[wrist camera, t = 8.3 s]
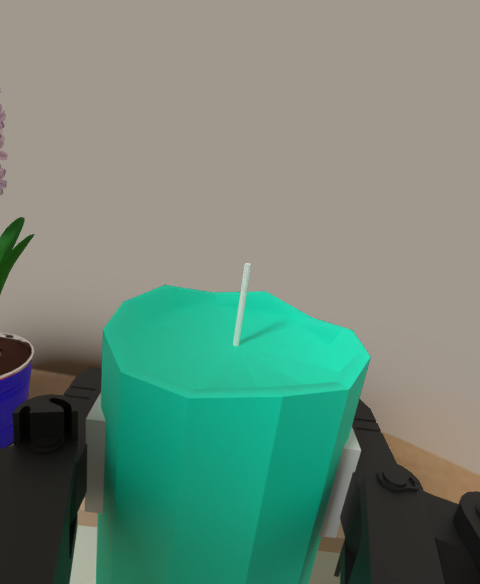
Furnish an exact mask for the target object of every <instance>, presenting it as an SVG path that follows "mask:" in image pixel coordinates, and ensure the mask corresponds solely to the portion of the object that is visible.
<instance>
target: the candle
mask: <svg viewBox="0 0 480 584" xmlns="http://www.w3.org/2000/svg"><path fill="white" fill-rule="evenodd" d="M250 268H251V264H250V263H245V266H244V272H243V280H242V286H241V292H217V293H213V292H206V291H200V290H194V289H187V288H181V287H175V286H169V285H164V286H161V287H159V288H156V289H154V290H151V291H149V292H146V293H144V294H142V295H139V296H137V297H134V298H132V299H129V300H127V301H124V302H123V303H122V304H121V306H120V307H119V308H118V310H117V311H116V313H115V314H114V316H113V317H112V318H111V319H110V321H109V322H108V323H107V325H106V326H105V327H104V329H103V343H102V379H101V409H102V412H103V415H104V418H105V420H106V430H105V459H104V488H103V514H102V513H98V522H97V558H96V584H309V581H310V577H311V573H312V570H313V566H314V562H315V559H316V555H317V551H318V548H319V544H320V540H321V537H322V536H319V534H320V531H321V527H322V523H323V520H324V516H325V512H326V509H327V505H328V501H329V497H330V494H331V490H332V486H333V483H334V479H335V475H336V472H337V468H338V464H339V460H340V457H341V453H342V449H343V447H344V445H345V443H346V442H347V440H348V438H349V435H350V431H351V427H352V424H353V420H354V416H355V413H356V409H357V405H358V402H359V398H360V394H361V390H362V387H363V383H364V380H365V376H366V372H367V369H368V365H369V361H370V358H371V357H370V355H369V354H368V352H367V351H366V350H365V348H364V346H363V345H362V343H361V342H360V341H359V339H358V337H357V336H356V334H355V333H354V331H353V330H351V329H347V328H344V327H341V326H337V325H334V324H331V323H328V322H325V321H322V320H318V319H315V318H312V317H310V316H308V315H307V314H305V313H303V312H301V311H300V310H298V309H296V308H294V307H292V306H291V305H289V304H287V303H285V302H284V301H282V300H280V299H278V298H277V297H275V296H273V295H271V294H270V293H268V292H265V291H259V292H247V289H248V282H249V275H250Z"/></svg>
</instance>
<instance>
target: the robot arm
mask: <svg viewBox="0 0 480 584" xmlns="http://www.w3.org/2000/svg"><path fill="white" fill-rule="evenodd" d="M101 379H102V369H100V368H91V367H90V368H89V369H87V370H85V371H84V372H82V373H81V374H79V375H77V376H76V378H75V379H74V381H73V382H72V384H71V385H70V388H68V389H67V391H66V392H65V393H64V396H62V395H44V396H38V397H35V398H32V399H29V400H26V401H25V402H23V403H22V404H20V405H19V406H17V408H16V409H15V410H14V412H13V413H12V417H13V433H14V446H11V447H7V448H2V449H0V584H70V577H71V570H72V563H73V556H74V548H75V541H76V534H77V527H78V510H79V508H80V506H81V504H82V501H83V499H84V497H85V512H92V513H102V514H103V488H104V459H105V430H106V420H105V418H104V415H103V412H102V409H101ZM380 431H381V430H380V428H379V426H378V424H377V423H376V420H375V418H374V416H373V413H372V412H371V409H370V408H369V407H368V406H366V405H365V404H364V403H363V402H362V401H361V400H360V399H359V402H358V405H357V409H356V413H355V416H354V420H353V424H352V427H351V431H350V435H349V438H348V440H347V442H346V443H345V445H344V447H343V449H342V453H341V457H340V460H339V464H338V468H337V472H336V475H335V479H334V483H333V486H332V490H331V494H330V497H329V501H328V505H327V509H326V512H325V516H324V520H323V523H322V527H321V531H320V534H319V536H322V537H332V538H336V535H337V532H338V528H339V525H340V521H341V524H342V528H343V532H344V535H345V539H344V543H343V546H342V549H341V553H340V556H339V559H338V562H337V566H336V569H335V573H334V576H336V577H339V574H340V584H480V492H467V493H466V494H464V495H463V496H462V497H461V499H460V502H459V504H456V503H453V502H451V501H448V500H445V499H442V498H439V497H436V496H434V495H431V494H429V493H427V492H425V491H423V488H422V486H421V484H420V482H419V480H418V479H417V478H416V477H415V476H414V475H413V474H412V473H411V472H410V471H408V470H407V469H405V468H404V467H402V466H400V465H398V464H397V463H396V461H395V459H394V457H393V455H392V453H391V451H390V449H389V447H388V444H387V442H386V440H385V438H384V436H383V434H382V433H381V432H380Z"/></svg>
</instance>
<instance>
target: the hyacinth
mask: <svg viewBox="0 0 480 584" xmlns="http://www.w3.org/2000/svg"><path fill="white" fill-rule="evenodd" d="M0 93H1V91H0ZM1 111H2V106H1V104H0V139H1V140H0V148H2V147H3V144H4V142H3V141H4V136H3V134H2V133H1V131H2V128H3V127H4V123H3V121H4V120H5V117H6V115H5V113H4V112H5V111H2V112H1ZM1 137H2V138H1ZM2 139H3V140H2ZM6 159H7V154H6V153H5V152H4V151H1V150H0V160H6ZM0 167H1V165H0ZM0 169H1V170H0V194H1V195H2V194H3V189H2V188H6V186H7V185H6V184H7V181H5V180H1V179H2V178H3V177H4V176H5V173H6V170H5V169H4V170H3V168H0ZM23 224H24V218H23V217H20V218H18V219H16V220H15V221H14V222H13V223H12V224H10V226H9V227H7V228H6V230H5V231H4V233H3V234H2V235H1V237H0V294H1V291H2V289H3V286H4V284H5V281H6V279H7V276H8V274H9V272H10V270H11V269H12V267H13V265H14V263H15V262H16V260H17V259H18V257H19V256H20V254H21V253H22V252H23V250H24V249H25V247H26V246H27V244H28V243H29V241H30V240H31V239H32V238H33V236H34V234H32V235H29V236H28V237H26V238H25V239H24V240H23V241H21V242H20V243H19V244H18V245H17V246H16V247H15V248H14V249H13V247H14V245H15V243H16V240H17V238H18V236H19V234H20V232H21V229H22V227H23ZM12 249H13V250H12ZM33 356H34V348H33V346H32V344H31V343H30V342H29V341H28V340H26V339H24V338H22V337H19V336H17V335H13V334H8V333H0V449H2V448H6V447H7V446H9V445H11V444H12V443H13V442H14V433H13V417H12V413H13V412H14V410H15V409H16V408H17V406H19V405H20V404H22V403H23V402H25V401H26V400H28V394H29V384H30V375H31V366H32V359H33Z"/></svg>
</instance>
